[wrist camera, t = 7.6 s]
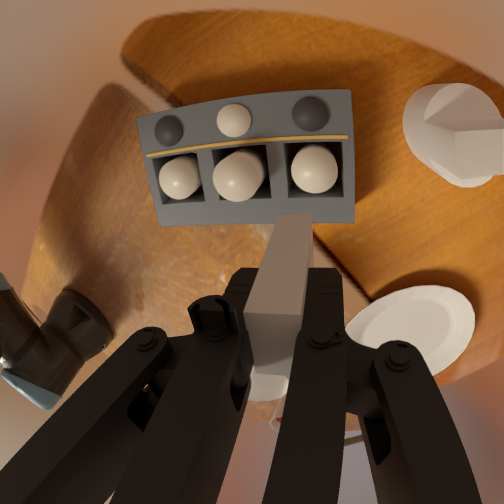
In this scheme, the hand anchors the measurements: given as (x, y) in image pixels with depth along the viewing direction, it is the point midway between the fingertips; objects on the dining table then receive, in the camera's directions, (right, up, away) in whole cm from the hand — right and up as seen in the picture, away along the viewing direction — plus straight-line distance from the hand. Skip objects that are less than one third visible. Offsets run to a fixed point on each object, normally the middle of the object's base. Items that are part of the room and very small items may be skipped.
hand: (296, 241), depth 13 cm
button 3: (+4, +8, +13) cm, 16 cm away
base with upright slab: (+17, +12, +8) cm, 22 cm away
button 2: (-3, +7, +13) cm, 15 cm away
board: (-2, +9, +15) cm, 17 cm away
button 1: (-9, +8, +16) cm, 20 cm away
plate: (+20, -12, +22) cm, 32 cm away
